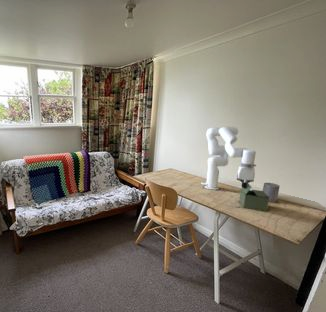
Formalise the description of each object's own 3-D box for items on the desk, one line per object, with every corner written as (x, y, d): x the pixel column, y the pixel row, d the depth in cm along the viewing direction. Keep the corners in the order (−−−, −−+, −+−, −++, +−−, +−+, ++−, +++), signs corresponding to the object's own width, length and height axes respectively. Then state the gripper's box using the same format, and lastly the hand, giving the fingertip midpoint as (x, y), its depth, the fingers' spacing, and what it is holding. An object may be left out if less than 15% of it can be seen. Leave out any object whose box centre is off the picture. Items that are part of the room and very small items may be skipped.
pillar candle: (259, 196, 166) (262, 180, 163) (274, 198, 161) (277, 182, 158) (263, 201, 158) (266, 184, 155) (278, 203, 153) (282, 185, 150)
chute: (243, 207, 147) (245, 194, 145) (239, 201, 158) (241, 188, 156) (266, 211, 141) (269, 197, 139) (260, 204, 152) (262, 190, 150)
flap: (245, 194, 145) (245, 194, 145) (241, 188, 156) (240, 188, 156) (251, 187, 142) (251, 187, 142) (246, 182, 154) (246, 181, 154)
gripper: (257, 165, 146) (254, 187, 150) (234, 163, 153) (231, 185, 156) (261, 167, 140) (257, 190, 143) (236, 165, 146) (233, 188, 150)
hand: (243, 187), depth 150 cm, fingers closed
